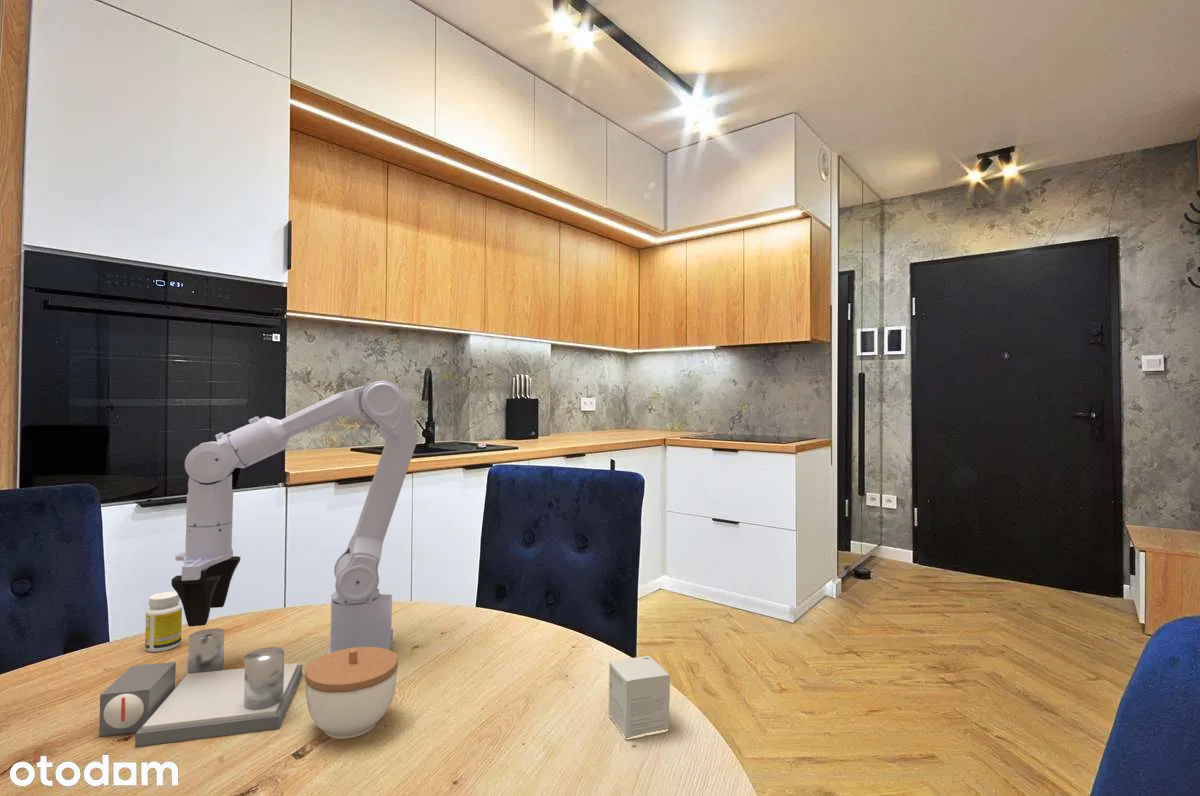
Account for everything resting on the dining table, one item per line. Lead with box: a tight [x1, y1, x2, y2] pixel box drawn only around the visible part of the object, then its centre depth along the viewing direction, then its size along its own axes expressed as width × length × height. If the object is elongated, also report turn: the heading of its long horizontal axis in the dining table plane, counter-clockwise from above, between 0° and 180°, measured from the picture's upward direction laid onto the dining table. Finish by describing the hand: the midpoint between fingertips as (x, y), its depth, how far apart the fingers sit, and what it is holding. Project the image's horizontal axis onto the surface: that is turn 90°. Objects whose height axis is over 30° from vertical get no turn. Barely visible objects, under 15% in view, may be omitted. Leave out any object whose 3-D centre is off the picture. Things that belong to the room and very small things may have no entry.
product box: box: [608, 655, 671, 738], centre depth 75 cm, size 6×6×7 cm
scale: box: [98, 661, 304, 748], centre depth 77 cm, size 20×15×5 cm
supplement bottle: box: [144, 590, 183, 653], centre depth 96 cm, size 5×5×8 cm
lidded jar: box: [304, 647, 399, 740], centre depth 74 cm, size 11×11×9 cm
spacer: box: [187, 628, 225, 674], centre depth 87 cm, size 4×4×6 cm
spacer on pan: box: [244, 646, 285, 710], centre depth 75 cm, size 4×4×6 cm
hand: (206, 615), depth 87 cm, fingers open, 7 cm apart
